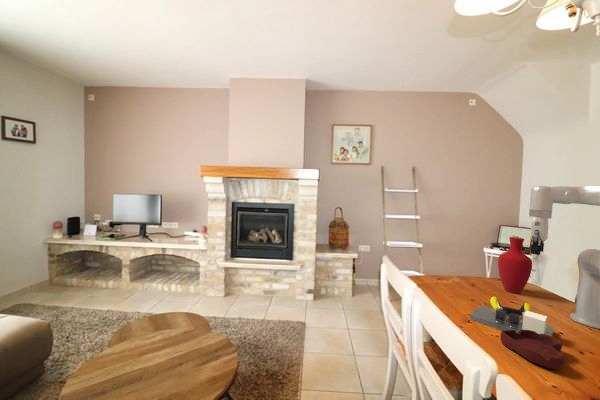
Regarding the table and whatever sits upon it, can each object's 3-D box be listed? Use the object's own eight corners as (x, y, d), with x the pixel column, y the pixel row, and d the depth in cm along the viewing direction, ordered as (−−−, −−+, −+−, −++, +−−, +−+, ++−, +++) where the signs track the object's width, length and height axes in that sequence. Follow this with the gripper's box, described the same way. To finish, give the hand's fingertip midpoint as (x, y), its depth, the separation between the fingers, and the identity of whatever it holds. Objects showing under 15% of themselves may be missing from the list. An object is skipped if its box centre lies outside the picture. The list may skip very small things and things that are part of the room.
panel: (553, 332, 108) (554, 318, 107) (548, 346, 98) (550, 331, 97) (480, 309, 126) (481, 297, 126) (469, 319, 116) (470, 306, 116)
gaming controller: (489, 306, 130) (490, 314, 122) (490, 295, 130) (491, 302, 122) (529, 315, 123) (534, 324, 114) (530, 303, 122) (535, 311, 114)
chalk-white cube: (525, 323, 110) (526, 310, 109) (545, 330, 105) (547, 316, 105) (522, 328, 105) (523, 315, 105) (543, 335, 101) (544, 321, 101)
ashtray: (502, 334, 105) (503, 321, 105) (560, 352, 95) (561, 338, 95) (497, 354, 92) (498, 340, 92) (564, 378, 81) (566, 362, 81)
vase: (490, 288, 155) (494, 235, 153) (505, 285, 161) (509, 234, 159) (520, 298, 141) (524, 241, 140) (535, 294, 147) (540, 239, 146)
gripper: (549, 216, 112) (545, 257, 113) (554, 214, 123) (550, 251, 124) (525, 214, 117) (522, 253, 118) (532, 212, 129) (529, 248, 130)
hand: (536, 252), depth 121 cm, fingers open, 9 cm apart
